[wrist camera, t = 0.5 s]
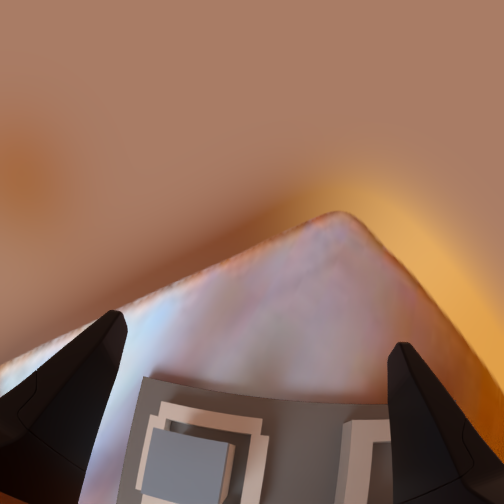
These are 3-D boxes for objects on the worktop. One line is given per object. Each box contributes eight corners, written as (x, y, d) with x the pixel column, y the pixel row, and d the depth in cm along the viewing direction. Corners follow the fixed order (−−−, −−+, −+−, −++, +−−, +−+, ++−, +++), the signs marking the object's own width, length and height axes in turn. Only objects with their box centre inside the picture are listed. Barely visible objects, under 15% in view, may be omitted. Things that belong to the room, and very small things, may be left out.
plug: (227, 495, 17) (216, 511, 11) (172, 483, 17) (140, 493, 12) (235, 445, 19) (228, 442, 14) (181, 435, 20) (153, 427, 14)
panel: (441, 527, 14) (463, 531, 11) (120, 510, 16) (100, 515, 13) (449, 402, 21) (471, 392, 18) (147, 379, 23) (132, 367, 20)
